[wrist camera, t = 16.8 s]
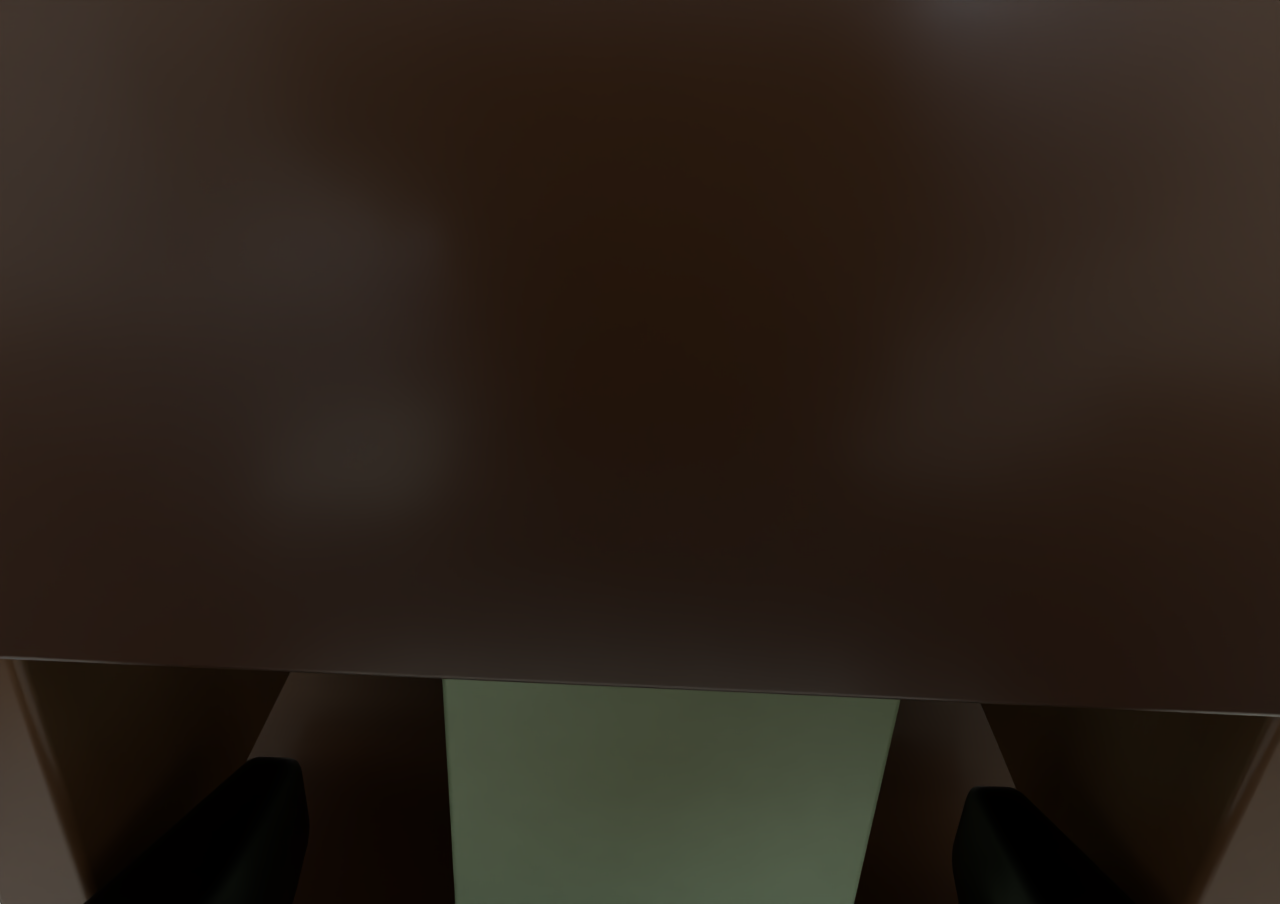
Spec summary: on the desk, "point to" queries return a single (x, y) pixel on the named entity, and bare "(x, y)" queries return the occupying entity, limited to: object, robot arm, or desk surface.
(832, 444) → the cabinet
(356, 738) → the drawer
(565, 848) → the block
